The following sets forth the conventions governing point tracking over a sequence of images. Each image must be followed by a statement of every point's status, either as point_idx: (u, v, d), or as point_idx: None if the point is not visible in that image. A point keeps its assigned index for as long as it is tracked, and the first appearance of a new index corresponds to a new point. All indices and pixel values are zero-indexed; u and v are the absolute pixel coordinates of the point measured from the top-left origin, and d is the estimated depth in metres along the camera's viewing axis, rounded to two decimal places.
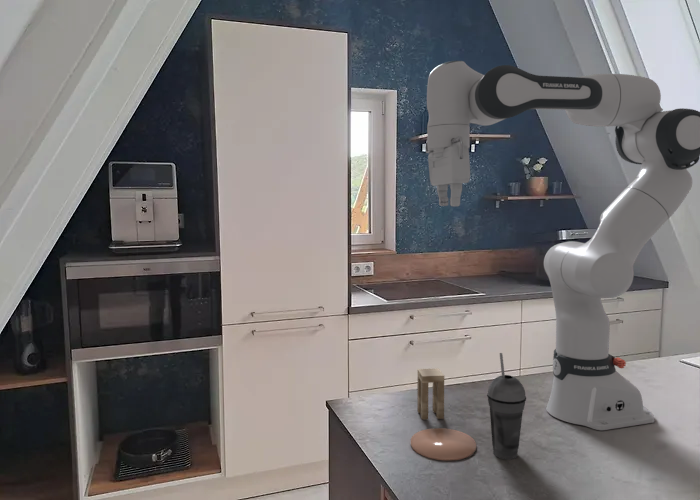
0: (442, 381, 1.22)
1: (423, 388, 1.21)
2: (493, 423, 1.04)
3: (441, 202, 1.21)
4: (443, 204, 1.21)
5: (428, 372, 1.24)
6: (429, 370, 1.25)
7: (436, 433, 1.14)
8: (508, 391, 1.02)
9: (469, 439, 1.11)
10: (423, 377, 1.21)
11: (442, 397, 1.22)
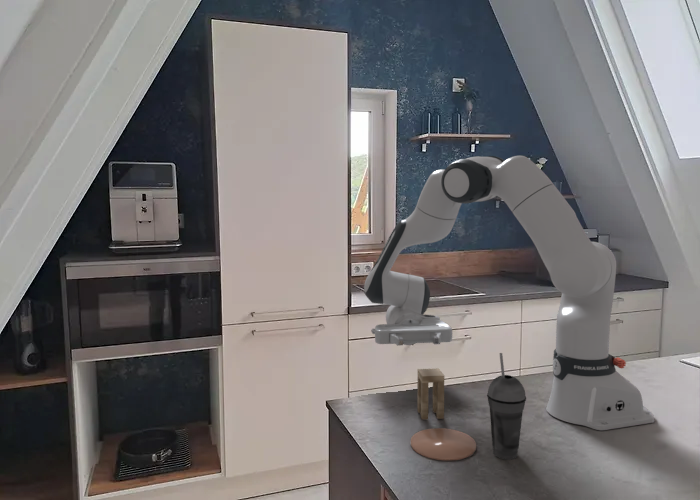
0: (442, 381, 1.22)
1: (423, 388, 1.21)
2: (493, 423, 1.04)
3: (434, 343, 1.37)
4: (434, 341, 1.36)
5: (428, 372, 1.24)
6: (429, 370, 1.25)
7: (436, 433, 1.14)
8: (508, 391, 1.02)
9: (469, 439, 1.11)
10: (423, 377, 1.21)
11: (442, 397, 1.22)
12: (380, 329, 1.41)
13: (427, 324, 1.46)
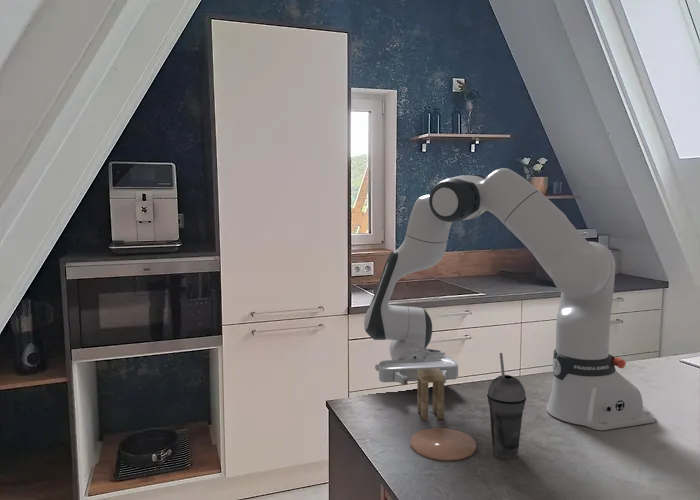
0: (442, 381, 1.22)
1: (423, 388, 1.21)
2: (493, 423, 1.04)
3: None
4: None
5: (428, 372, 1.24)
6: (429, 370, 1.25)
7: (436, 433, 1.14)
8: (508, 391, 1.02)
9: (469, 439, 1.11)
10: (423, 377, 1.21)
11: (442, 397, 1.22)
12: (384, 367, 1.37)
13: (432, 360, 1.42)
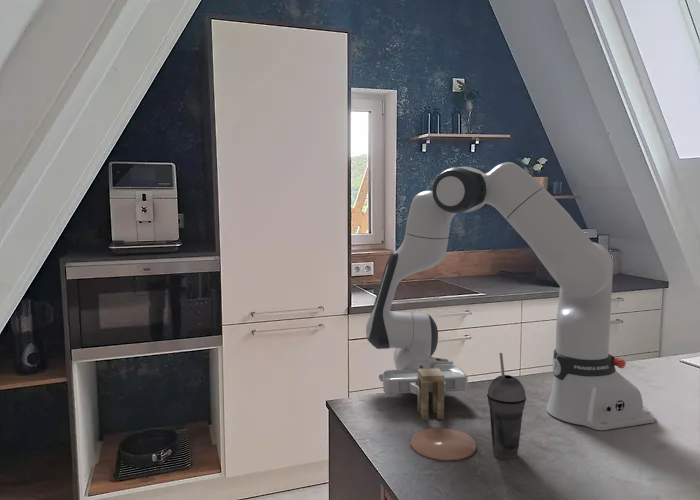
0: (442, 381, 1.22)
1: (423, 388, 1.21)
2: (493, 423, 1.04)
3: None
4: None
5: (428, 372, 1.24)
6: (429, 370, 1.25)
7: (436, 433, 1.14)
8: (508, 391, 1.02)
9: (469, 439, 1.11)
10: (423, 377, 1.21)
11: (442, 397, 1.22)
12: (389, 377, 1.29)
13: (440, 370, 1.34)
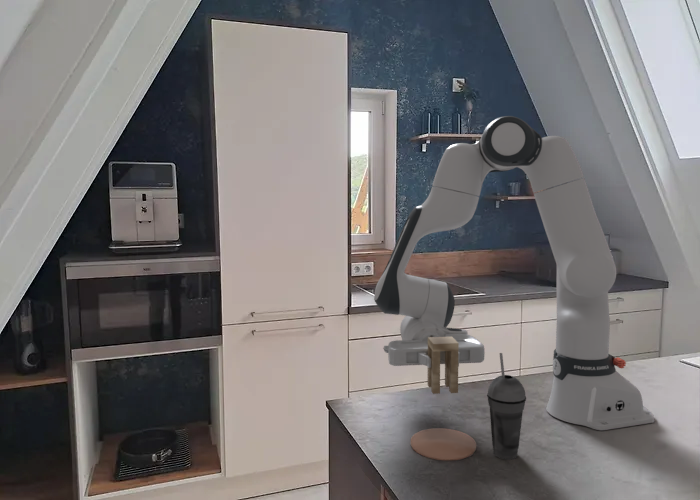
0: (456, 350, 1.06)
1: (434, 357, 1.06)
2: (493, 423, 1.04)
3: None
4: None
5: (440, 340, 1.08)
6: (441, 338, 1.10)
7: (436, 433, 1.14)
8: (508, 391, 1.02)
9: (469, 439, 1.11)
10: (434, 345, 1.06)
11: (456, 368, 1.07)
12: (395, 347, 1.13)
13: None
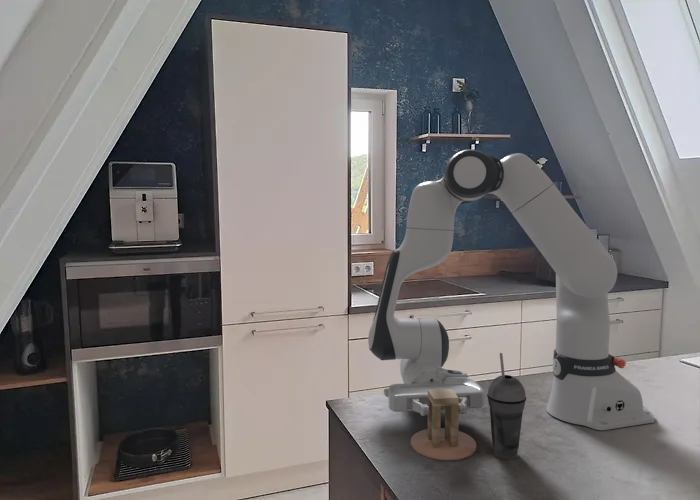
0: (456, 404, 1.07)
1: (434, 412, 1.07)
2: (493, 423, 1.04)
3: None
4: (459, 410, 1.09)
5: (440, 394, 1.09)
6: (441, 391, 1.10)
7: None
8: (508, 391, 1.02)
9: (469, 439, 1.11)
10: (434, 400, 1.06)
11: (456, 422, 1.07)
12: (395, 393, 1.13)
13: (452, 383, 1.19)
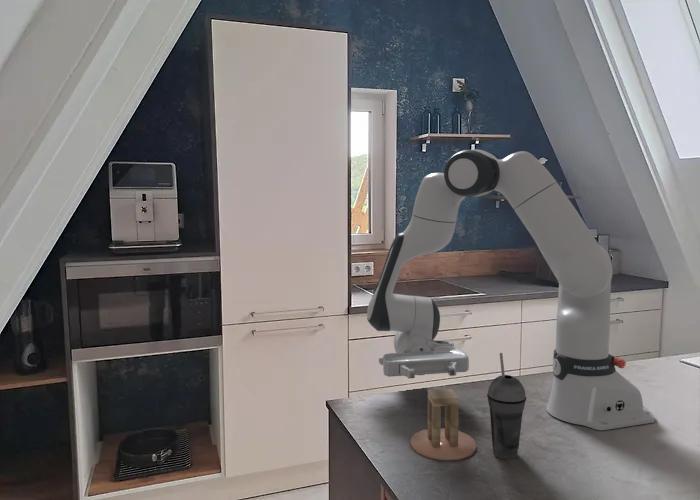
0: (456, 404, 1.07)
1: (434, 412, 1.07)
2: (493, 423, 1.04)
3: (449, 374, 1.23)
4: (449, 373, 1.22)
5: (440, 394, 1.09)
6: (441, 391, 1.10)
7: None
8: (508, 391, 1.02)
9: (469, 439, 1.11)
10: (434, 400, 1.06)
11: (456, 422, 1.07)
12: (388, 360, 1.27)
13: (440, 352, 1.32)
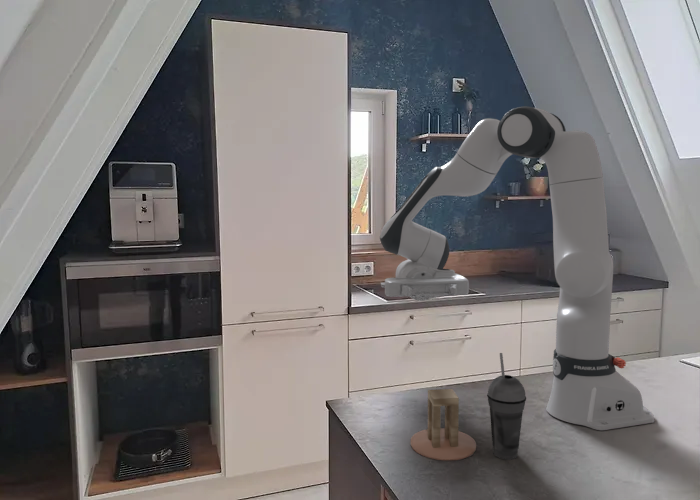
0: (456, 404, 1.07)
1: (434, 412, 1.07)
2: (493, 423, 1.04)
3: (449, 294, 1.25)
4: (450, 292, 1.25)
5: (440, 394, 1.09)
6: (441, 391, 1.10)
7: None
8: (508, 391, 1.02)
9: (469, 439, 1.11)
10: (434, 400, 1.06)
11: (456, 422, 1.07)
12: (390, 281, 1.29)
13: (441, 277, 1.34)
